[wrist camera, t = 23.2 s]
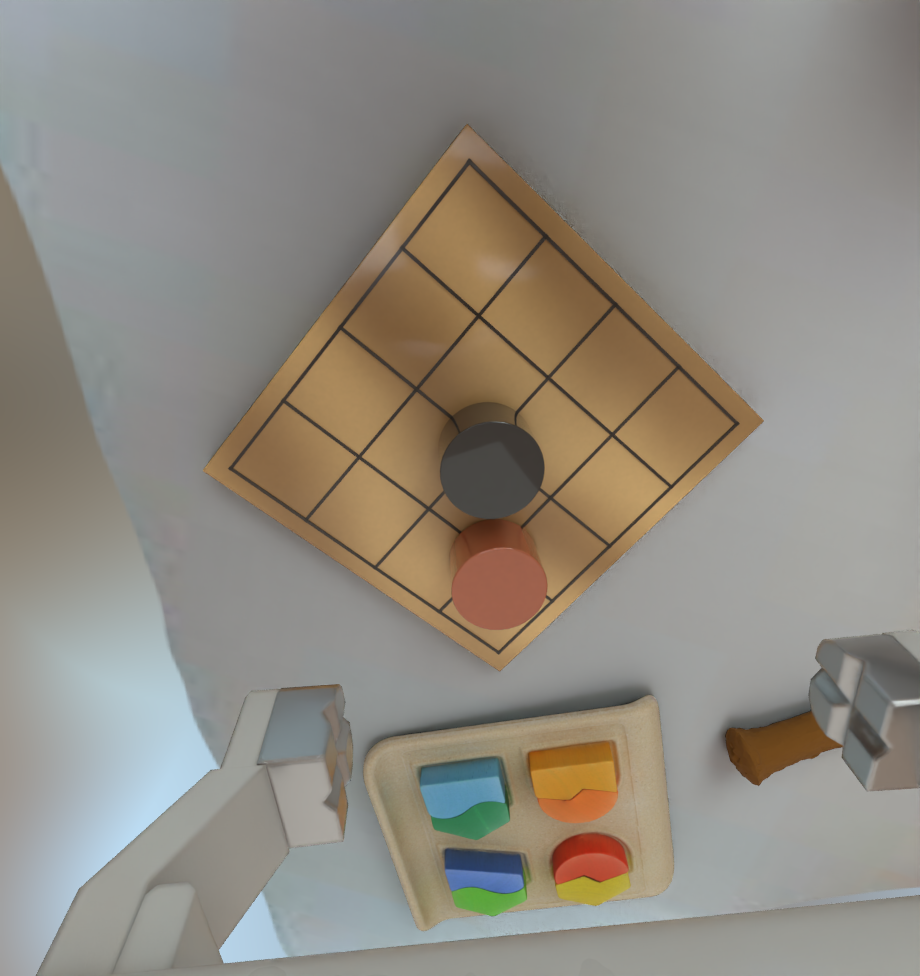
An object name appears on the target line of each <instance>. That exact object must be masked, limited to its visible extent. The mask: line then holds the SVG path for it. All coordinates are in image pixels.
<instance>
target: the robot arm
mask: <svg viewBox="0 0 920 976" xmlns="http://www.w3.org/2000/svg"><path fill="white" fill-rule="evenodd" d="M815 659H816V660H817V662H818V663H819V664H820V666H821V667H822V668H821V669H820V670H819V671H818V672H817V673H816V674H815V676H814V677H813V678H812V679H811V682H810V688H809V700H810V706H811V711H812V713H813V716H814V718H815V720H816V722H817V724H818V725H819V727H820V728H821V730H822V731H823V733H824V734H825V735H826V736H827V737H829V738H831V739H832V740H834V741H836V742H837V743H839V744H841V745H843V750H842V759H843V760H844V761H845V763H846V764H847V765H848V767H849V768H850V769H851V771H852V772H853V773H854V775H855V776H856V777H857V779H858V780H859V782H860V783H861V784H862V786H863V787H864V788H865V790H866V791H882V790H897V789H912V788H920V632H917V631H915V630H906V631H897V632H888V633H882V634H873V635H863V636H853V637H843V638H833V639H823V640H822V642H821V643H820V644H819V646H818V648H817V653H816V657H815ZM344 709H345V698H344V693H343V689H342V686H341V685H340V684H334V685H320V686H305V687H290V688H281V689H270V690H255V691H251V692H250V693H249V694H248V695H247V696H246V698H245V700H244V703H243V706H242V709H241V712H240V714H239V717H238V720H237V723H236V726H235V729H234V731H233V734H232V737H231V740H230V743H229V746H228V748H227V751H226V754H225V757H224V760H223V762H222V765H221V768H220V769H215V770H210V771H209V772H208V773H207V774H206V775H205V776H204V777H203V778H202V779H200V780H199V781H198V782H197V783H196V784H195V785H194V786H193V787H192V788H190V789H189V790H188V791H187V792H186V793H185V794H184V795H183V796H182V797H180V798H179V799H178V800H177V801H176V802H175V803H174V804H173V805H172V806H170V807H169V808H168V809H167V810H166V811H165V812H164V813H163V814H162V815H161V816H159V817H158V818H157V819H156V820H155V821H154V822H153V823H152V824H150V825H149V826H148V827H147V828H146V829H145V830H144V831H143V832H142V833H140V835H138V836H137V837H136V838H135V839H134V840H133V841H132V842H131V843H130V844H128V845H127V846H126V847H125V848H124V849H123V850H122V851H121V852H120V853H118V854H117V855H116V856H115V857H114V858H113V859H112V860H111V861H110V862H108V863H107V864H106V865H105V866H104V867H103V868H102V869H101V870H100V871H98V872H97V873H96V874H95V875H94V876H93V877H92V878H91V879H89V880H88V881H87V882H86V883H85V884H84V885H83V886H82V887H81V888H79V890H78V892H77V894H76V896H75V898H74V900H73V902H72V904H71V906H70V908H69V910H68V912H67V914H66V916H65V918H64V920H63V922H62V924H61V926H60V928H59V930H58V932H57V934H56V936H55V938H54V940H53V942H52V944H51V946H50V948H49V950H48V952H47V954H46V956H45V958H44V960H43V962H42V964H41V966H40V968H39V970H38V972H37V974H36V976H920V895H916V896H907V897H896V898H886V899H876V900H866V901H856V902H846V903H836V904H826V905H816V906H806V907H796V908H786V909H776V910H765V911H755V912H745V913H734V914H724V915H714V916H704V917H693V918H683V919H673V920H663V921H652V922H642V923H632V924H622V925H611V926H601V927H591V928H581V929H570V930H560V931H550V932H540V933H530V934H520V935H509V936H499V937H489V938H479V939H469V940H458V941H448V942H438V943H428V944H418V945H408V946H397V947H387V948H377V949H367V950H357V951H347V952H336V953H326V954H316V955H306V956H296V957H286V958H276V959H265V960H255V961H245V962H235V963H223V960H222V958H221V955H220V953H219V949H220V948H221V946H222V945H223V944H224V942H225V941H226V939H227V938H228V937H229V935H230V934H231V932H232V931H233V930H234V928H235V927H236V925H237V924H238V923H239V921H240V920H241V919H242V917H243V916H244V914H245V913H246V912H247V910H248V909H249V907H250V906H251V905H252V903H253V902H254V901H255V899H256V898H257V896H258V895H259V894H260V892H261V891H262V889H263V888H264V887H265V885H266V884H267V882H268V881H269V880H270V878H271V877H272V876H273V874H274V873H275V871H276V870H277V869H278V867H279V866H280V864H281V863H282V862H283V860H284V859H285V857H286V856H287V855H288V853H289V848H296V847H304V846H312V845H320V844H328V843H336V842H343V840H344V832H345V824H346V817H347V809H348V801H347V796H346V791H345V787H346V786H347V785H348V784H349V782H350V781H351V776H352V767H353V744H352V733H351V728H350V722H349V721H347V720H346V719H345V718H344V717H343V716H344Z"/></svg>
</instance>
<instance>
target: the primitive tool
mask: <svg viewBox="0 0 920 976" xmlns="http://www.w3.org/2000/svg"><path fill="white" fill-rule="evenodd" d="M725 737H726V745H727V750H728V754H729V758H730V761H731V762H732V763H733V764H734V765H735V766H736V769H737V770H738V771H739V772H740V773H741V774H742V776H743V777H746V778H747V779H748V780H749V781H750V782H751V783H752V784H754V785H758V786H759V785H760V784H761V782H762V781H763V780H764V779H766V778H768V777H769V776H770V775H771V774H773V773H774V772H777V771H780V770H782V769H784V768H785V767H787V766H790V765H793V764H795V763H797V762H799V761H800V760H805V759H813V758H815V757H817V756H818V755H819V754H820V753H821V752H825V751H828V750H831V749H834V748H841V747H843V745H841V744H839V743H837V742H836V741H834V740H832V739H831V738H829V737H827V736H826V735H825V734H824V733H823V731H822V730H821V728H820V727H819V725H818V724H817V722H816V720H815V718H814V716H813V713H812V711H810V712H807V713H804V714H801V715H799V716H796V717H793V718H790V719H787V720H783V721H780V722H776V723H773V724H771V725H769V726H766V727H760V728H751V729H749V730H745V729H741V728H738V729H736V728H729V729H728V730H727V733H726V735H725Z"/></svg>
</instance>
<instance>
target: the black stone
mask: <svg viewBox="0 0 920 976" xmlns="http://www.w3.org/2000/svg"><path fill="white" fill-rule="evenodd" d="M438 458H439V471H440V480H441V484H442V488H443V490H444V492H445V494H446V496H447V497H448V499H449V500H450V501H451V502H452V504H453V505H454V506H456V507H457V508H458V509H459V510H461V511H462V512H464V513H466V514H468V515H471V516H473V517H477V518H482V519H498V518H503V517H507V516H510V515H512V514H515V513H517V512H518V511H520V510H522V509H523V508H524V507H526V506H527V505H528V504H529V503H530V502H531V501H532V500H533V499H534V497H535V496H536V495H537V493H538V491H539V489H540V487H541V485H542V482H543V479H544V473H545V464H544V458H543V454H542V451H541V449H540V447H539V445H538V443H537V441H536V439H535V437H534V435H533V433H532V431H531V429H530V427H529V425H528V424H527V422H526V421H525V419H524V418H523V417H522V416H521V415H520V414H519V413H518V412H516V411H515V410H514V409H512V408H510V407H508V406H506V405H503V404H499V403H494V402H481V403H476V404H472V405H469V406H467V407H465V408H463V409H461V410H459V411H458V412H457V413H455V414H454V415H453V416H452V417H451V418H450V419H449V420H448V422H447V423H446V424H445V426H444V428H443V430H442V432H441V434H440V438H439V442H438Z"/></svg>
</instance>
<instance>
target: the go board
mask: <svg viewBox="0 0 920 976" xmlns="http://www.w3.org/2000/svg"><path fill="white" fill-rule="evenodd" d="M481 402H494V403H499V404H503V405H506V406H508V407H510V408H512V409H514V410H515V411H516V412H518V413H519V414H520V415H521V416H522V417H523V418H524V419H525V421H526V422H527V424H528V425H529V427H530V429H531V431H532V433H533V435H534V437H535V439H536V441H537V443H538V445H539V447H540V449H541V451H542V454H543V458H544V464H545V473H544V479H543V482H542V485H541V487H540V489H539V491H538V493H537V495H536V496H535V497H534V499H533V500H532V501H531V502H530V503H529V504H528V505H527V506H526V507H524V508H523V509H522V510H520V511H518V512H517V513H515V514H512V515H510V516H507V517H503V518H498V519H501V520H507V521H510V522H513V523H515V524H517V525H519V526H521V527H522V528H524V529H525V530H526V531H527V532H528V533H529V534H530V536H531V537H532V539H533V540H534V542H535V545H536V548H537V550H538V553H539V556H540V559H541V562H542V565H543V568H544V570H545V573H546V577H547V583H548V589H547V595H546V598H545V601H544V603H543V605H542V607H541V608H540V609H539V611H538V612H537V613H536V614H535V615H534V616H533V617H532V618H531V619H529V620H528V621H526V622H525V623H523V624H521V625H519V626H516V627H514V628H510V629H504V630H489V629H484V628H480V627H478V626H475V625H473V624H471V623H470V622H468V621H467V620H466V619H464V618H463V617H462V616H461V615H460V614H459V612H458V611H457V609H456V607H455V606H454V603H453V600H452V595H451V584H450V572H449V553H450V549H451V547H452V544H453V542H454V541H455V539H456V538H457V537H458V535H459V534H460V533H461V532H462V531H464V530H465V529H466V528H468V527H469V526H471V525H473V524H475V523H477V522H480V521H484V520H489V519H482V518H477V517H473V516H471V515H468V514H466V513H464V512H462V511H461V510H459V509H458V508H457V507H456V506H454V505H453V504H452V502H451V501H450V500H449V499H448V497H447V496H446V494H445V492H444V490H443V488H442V484H441V480H440V471H439V458H438V442H439V438H440V434H441V432H442V430H443V428H444V426H445V424H446V423H447V422H448V420H449V419H450V418H451V417H452V416H453V415H454V414H455V413H457V412H458V411H459V410H461V409H463V408H465V407H467V406H469V405H472V404H476V403H481ZM763 421H764V420H763V419H762V418H761V417H760V416H759V415H758V414H757V413H756V412H755V411H754V410H753V409H752V408H751V407H750V406H749V405H748V404H747V403H746V402H745V401H744V400H743V399H742V398H741V397H740V396H739V395H738V394H737V393H736V392H735V391H734V390H733V389H732V388H731V387H730V386H729V385H728V384H727V383H726V382H725V381H724V380H723V379H722V378H721V377H720V376H719V375H718V374H717V373H716V372H715V371H714V370H713V369H712V368H711V367H710V366H709V365H708V364H707V363H706V362H705V361H704V360H703V359H702V358H701V357H700V356H699V355H698V354H697V353H696V352H695V351H694V350H693V349H692V348H691V347H690V346H689V345H688V344H687V343H686V342H685V341H684V340H683V339H682V338H681V337H680V336H679V335H678V334H677V333H676V332H675V331H674V330H673V329H672V328H671V327H670V326H669V325H668V324H667V323H666V322H665V321H664V320H663V319H662V318H661V317H660V316H659V315H658V314H657V313H656V312H655V311H654V310H653V309H652V308H651V307H650V306H649V305H648V304H647V303H646V302H645V301H644V300H643V299H642V298H641V297H640V296H639V295H638V294H637V293H636V292H635V291H634V290H633V289H632V288H631V287H630V286H629V285H628V284H627V283H626V282H625V281H624V280H623V279H622V278H621V277H620V276H619V275H618V274H617V273H616V272H615V271H614V270H613V269H612V268H611V267H610V266H609V265H608V264H607V263H606V262H605V261H604V260H603V259H602V258H601V257H600V256H599V255H598V254H597V253H596V252H595V251H594V250H593V249H592V248H591V247H590V246H589V245H588V244H587V243H586V242H585V241H584V240H583V239H582V238H581V237H580V236H579V235H578V234H577V233H576V232H575V231H574V230H573V229H572V228H571V227H570V226H569V225H568V224H567V223H566V222H565V221H564V220H563V219H562V218H561V217H560V216H559V215H558V214H557V213H556V212H555V211H554V210H553V209H552V208H551V207H550V206H549V205H548V204H547V203H546V202H545V201H544V200H543V199H542V198H541V197H540V196H539V195H538V194H537V193H536V192H535V191H534V190H533V189H532V188H531V187H530V186H529V185H528V184H527V183H526V182H525V181H524V180H523V179H522V178H521V177H520V176H519V175H518V174H517V173H516V172H515V171H514V170H513V169H512V168H511V167H510V166H509V165H508V164H507V163H506V162H505V161H504V160H503V159H502V158H501V157H500V156H499V155H498V154H497V153H496V152H495V151H494V150H493V149H492V148H491V147H490V146H489V145H488V144H487V143H486V142H485V141H484V140H483V139H482V138H481V137H480V136H479V135H478V134H477V133H476V132H475V131H474V130H473V129H472V128H471V127H470V126H469V125H468V124H466V125H465V127H464V128H463V129H462V131H461V132H460V133H459V135H458V136H457V137H456V139H455V140H454V141H453V142H452V144H451V145H450V146H449V148H448V149H447V150H446V152H445V153H444V154H443V156H442V157H441V158H440V160H439V161H438V162H437V163H436V165H435V166H434V167H433V169H432V170H431V171H430V173H429V174H428V175H427V177H426V178H425V179H424V181H423V182H422V183H421V184H420V186H419V187H418V188H417V190H416V191H415V192H414V194H413V195H412V196H411V198H410V199H409V200H408V202H407V203H406V204H405V205H404V207H403V208H402V209H401V211H400V212H399V213H398V215H397V216H396V217H395V219H394V220H393V221H392V223H391V224H390V225H389V226H388V228H387V229H386V230H385V232H384V233H383V234H382V236H381V237H380V238H379V240H378V241H377V242H376V243H375V245H374V246H373V247H372V249H371V250H370V251H369V253H368V254H367V255H366V257H365V258H364V259H363V261H362V262H361V263H360V264H359V266H358V267H357V268H356V270H355V271H354V272H353V274H352V275H351V276H350V278H349V279H348V280H347V282H346V283H345V284H344V285H343V287H342V288H341V289H340V291H339V292H338V293H337V295H336V296H335V297H334V299H333V300H332V301H331V303H330V304H329V305H328V306H327V308H326V309H325V310H324V312H323V313H322V314H321V316H320V317H319V318H318V320H317V321H316V322H315V324H314V325H313V326H312V327H311V329H310V330H309V331H308V333H307V334H306V335H305V337H304V338H303V339H302V341H301V342H300V343H299V345H298V346H297V347H296V348H295V350H294V351H293V352H292V354H291V355H290V356H289V358H288V359H287V360H286V362H285V363H284V364H283V365H282V367H281V368H280V369H279V371H278V372H277V373H276V375H275V376H274V377H273V379H272V380H271V381H270V383H269V384H268V385H267V386H266V388H265V389H264V390H263V392H262V393H261V394H260V396H259V397H258V398H257V400H256V401H255V402H254V404H253V405H252V406H251V407H250V409H249V410H248V411H247V413H246V414H245V415H244V417H243V418H242V419H241V421H240V422H239V423H238V425H237V426H236V427H235V428H234V430H233V431H232V432H231V434H230V435H229V436H228V438H227V439H226V440H225V442H224V443H223V444H222V446H221V447H220V448H219V449H218V451H217V452H216V453H215V455H214V456H213V457H212V459H211V460H210V461H209V463H208V464H207V465H206V467H205V468H204V469H203V471H204V472H205V473H207V474H208V475H210V476H211V477H213V478H214V479H216V480H217V481H219V482H220V483H222V484H223V485H225V486H226V487H228V488H229V489H231V490H232V491H234V492H235V493H236V494H238V495H239V496H241V497H242V498H244V499H245V500H247V501H248V502H250V503H251V504H253V505H254V506H256V507H257V508H259V509H260V510H262V511H263V512H265V513H266V514H268V515H269V516H271V517H272V518H273V519H275V520H276V521H278V522H279V523H281V524H282V525H284V526H285V527H287V528H288V529H290V530H291V531H293V532H294V533H296V534H297V535H299V536H300V537H302V538H303V539H305V540H306V541H307V542H309V543H310V544H312V545H313V546H315V547H316V548H318V549H319V550H321V551H322V552H324V553H325V554H327V555H328V556H330V557H331V558H333V559H334V560H336V561H337V562H339V563H340V564H342V565H343V566H344V567H346V568H347V569H349V570H350V571H352V572H353V573H355V574H356V575H358V576H359V577H361V578H362V579H364V580H365V581H367V582H368V583H370V584H371V585H373V586H374V587H376V588H377V589H379V590H380V591H381V592H383V593H384V594H386V595H387V596H389V597H390V598H392V599H393V600H395V601H396V602H398V603H399V604H401V605H402V606H404V607H405V608H407V609H408V610H410V611H411V612H413V613H414V614H415V615H417V616H418V617H420V618H421V619H423V620H424V621H426V622H427V623H429V624H430V625H432V626H433V627H435V628H436V629H438V630H439V631H441V632H442V633H444V634H445V635H447V636H448V637H450V638H451V639H452V640H454V641H455V642H457V643H458V644H460V645H461V646H463V647H464V648H466V649H467V650H469V651H470V652H472V653H473V654H475V655H476V656H478V657H479V658H481V659H482V660H484V661H485V662H487V663H488V664H489V665H491V666H492V667H494V668H495V669H497V670H498V671H501V670H502V669H503V668H504V667H505V666H506V665H507V664H508V663H509V662H510V661H511V660H512V659H514V658H515V657H516V656H517V655H518V654H519V653H520V652H521V651H522V650H523V649H524V648H525V647H526V646H527V645H528V644H529V643H530V642H531V641H533V640H534V639H535V638H536V637H537V636H538V635H539V634H540V633H541V632H542V631H543V630H544V629H545V628H546V627H547V626H548V625H549V624H550V623H552V622H553V621H554V620H555V619H556V618H557V617H558V616H559V615H560V614H561V613H562V612H563V611H564V610H565V609H566V608H567V607H568V606H569V605H570V604H572V603H573V602H574V601H575V600H576V599H577V598H578V597H579V596H580V595H581V594H582V593H583V592H584V591H585V590H586V589H587V588H588V587H589V586H591V585H592V584H593V583H594V582H595V581H596V580H597V579H598V578H599V577H600V576H601V575H602V574H603V573H604V572H605V571H606V570H607V569H608V568H610V567H611V566H612V565H613V564H614V563H615V562H616V561H617V560H618V559H619V558H620V557H621V556H622V555H623V554H624V553H625V552H626V551H627V550H628V549H630V548H631V547H632V546H633V545H634V544H635V543H636V542H637V541H638V540H639V539H640V538H641V537H642V536H643V535H644V534H645V533H646V532H647V531H649V530H650V529H651V528H652V527H653V526H654V525H655V524H656V523H657V522H658V521H659V520H660V519H661V518H662V517H663V516H664V515H665V514H666V513H668V512H669V511H670V510H671V509H672V508H673V507H674V506H675V505H676V504H677V503H678V502H679V501H680V500H681V499H682V498H683V497H684V496H685V495H686V494H688V493H689V492H690V491H691V490H692V489H693V488H694V487H695V486H696V485H697V484H698V483H699V482H700V481H701V480H702V479H703V478H704V477H705V476H707V475H708V474H709V473H710V472H711V471H712V470H713V469H714V468H715V467H716V466H717V465H718V464H719V463H720V462H721V461H722V460H723V459H724V458H726V457H727V456H728V455H729V454H730V453H731V452H732V451H733V450H734V449H735V448H736V447H737V446H738V445H739V444H740V443H741V442H742V441H743V440H744V439H746V438H747V437H748V436H749V435H750V434H751V433H752V432H753V431H754V430H755V429H756V428H757V427H758V426H759V425H760V424H761V423H762V422H763Z"/></svg>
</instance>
